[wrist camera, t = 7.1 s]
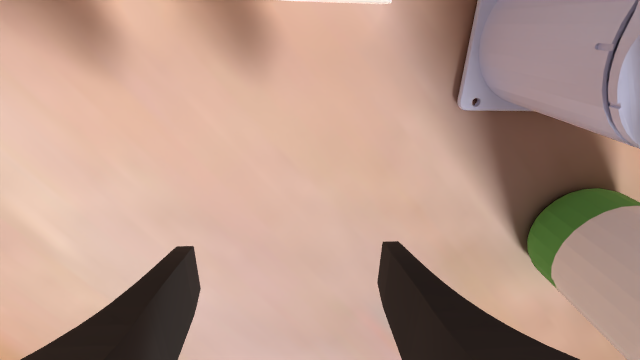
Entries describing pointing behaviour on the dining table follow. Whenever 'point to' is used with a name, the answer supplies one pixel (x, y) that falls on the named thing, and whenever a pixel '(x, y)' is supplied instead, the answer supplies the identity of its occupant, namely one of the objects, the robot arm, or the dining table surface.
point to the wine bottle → (594, 260)
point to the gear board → (349, 1)
